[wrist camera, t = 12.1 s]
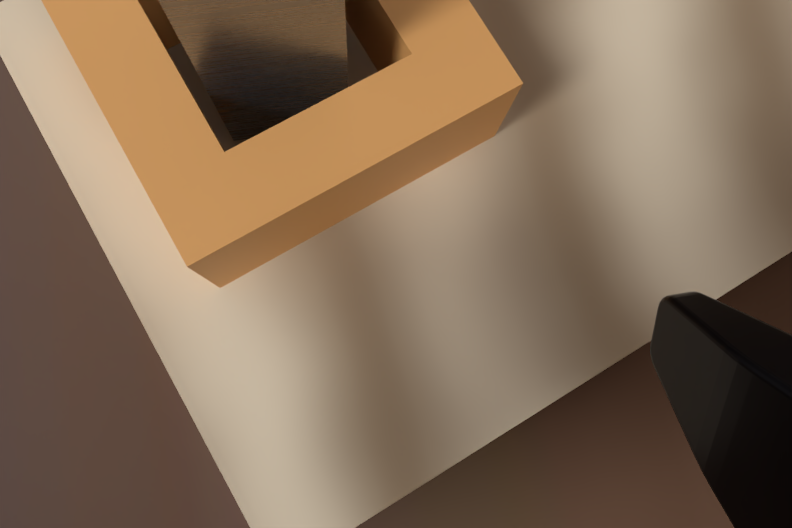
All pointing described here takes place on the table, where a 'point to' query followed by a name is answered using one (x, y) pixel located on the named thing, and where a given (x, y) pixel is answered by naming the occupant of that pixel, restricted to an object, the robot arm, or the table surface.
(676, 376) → the robot arm
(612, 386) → the table surface
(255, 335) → the birch board
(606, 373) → the table surface
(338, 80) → the steel pin
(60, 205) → the table surface
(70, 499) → the table surface
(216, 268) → the orange collar
